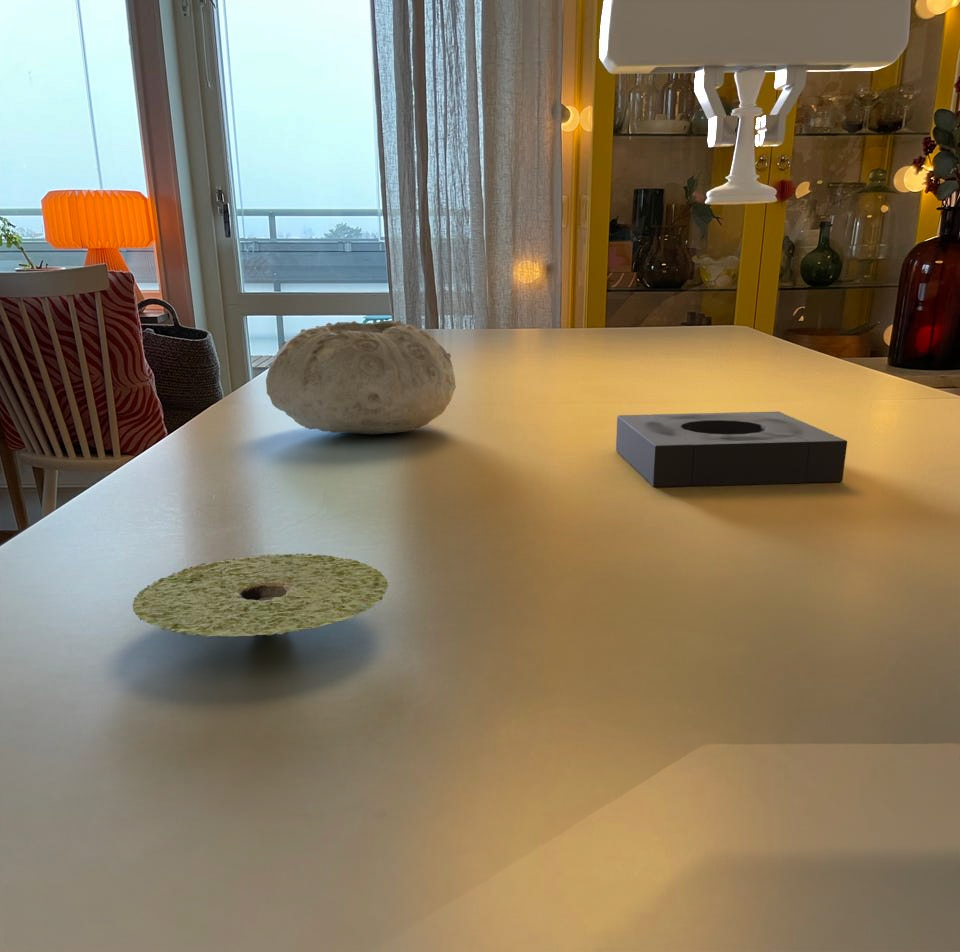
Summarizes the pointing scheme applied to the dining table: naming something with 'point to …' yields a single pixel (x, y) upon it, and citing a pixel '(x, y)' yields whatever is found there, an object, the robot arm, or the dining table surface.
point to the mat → (260, 595)
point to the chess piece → (744, 148)
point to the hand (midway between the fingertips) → (744, 145)
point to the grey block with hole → (728, 449)
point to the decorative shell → (361, 378)
